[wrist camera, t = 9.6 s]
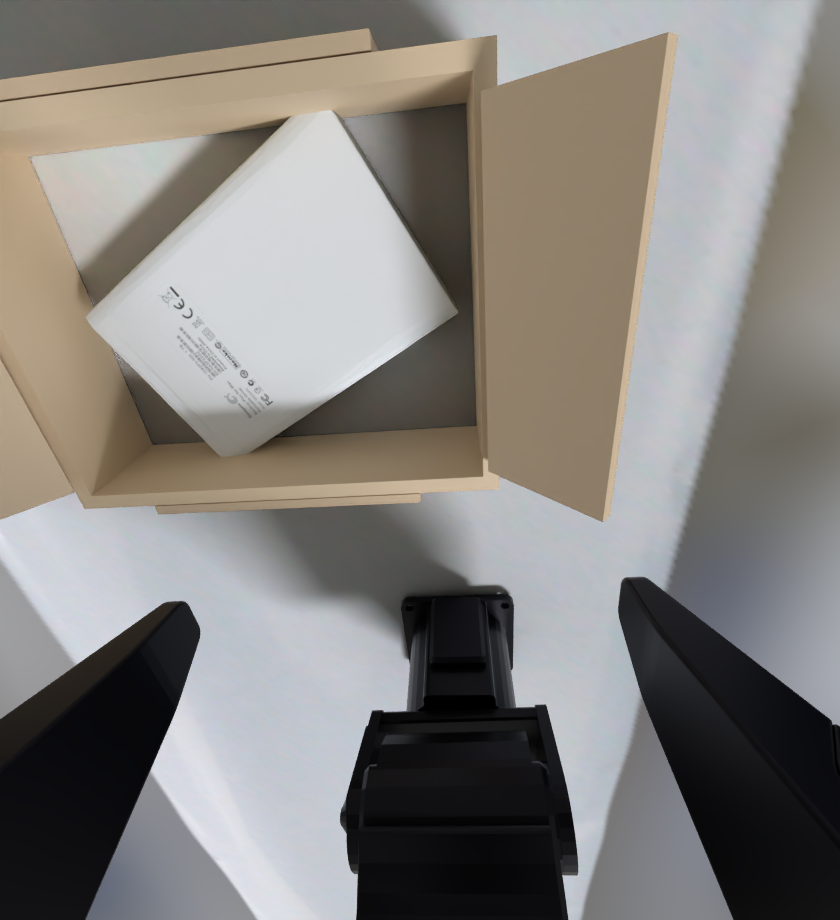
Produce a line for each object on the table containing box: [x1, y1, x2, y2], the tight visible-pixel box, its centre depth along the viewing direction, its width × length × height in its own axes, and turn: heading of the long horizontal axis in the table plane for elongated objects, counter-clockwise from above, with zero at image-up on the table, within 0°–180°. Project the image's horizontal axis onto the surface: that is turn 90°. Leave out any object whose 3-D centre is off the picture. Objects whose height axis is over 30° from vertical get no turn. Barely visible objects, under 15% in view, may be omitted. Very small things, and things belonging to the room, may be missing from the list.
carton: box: [0, 28, 499, 514], centre depth 17 cm, size 14×17×4 cm
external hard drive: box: [85, 110, 459, 457], centre depth 18 cm, size 2×8×12 cm
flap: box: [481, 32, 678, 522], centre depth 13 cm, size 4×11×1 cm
